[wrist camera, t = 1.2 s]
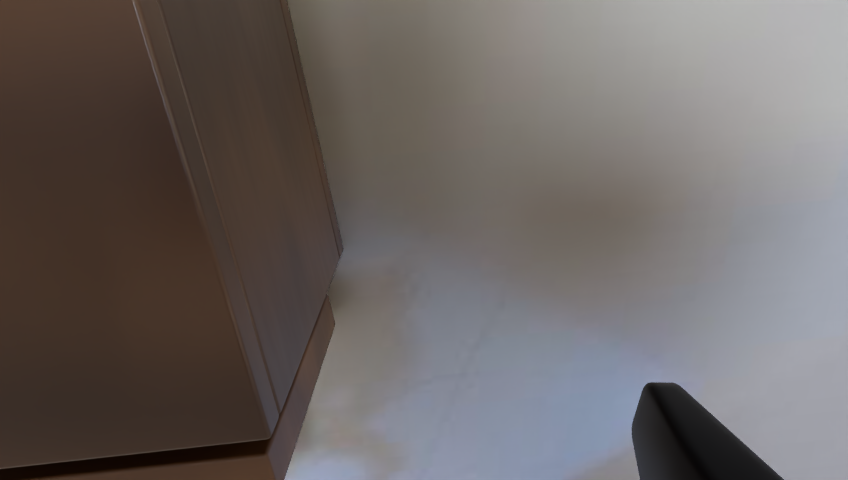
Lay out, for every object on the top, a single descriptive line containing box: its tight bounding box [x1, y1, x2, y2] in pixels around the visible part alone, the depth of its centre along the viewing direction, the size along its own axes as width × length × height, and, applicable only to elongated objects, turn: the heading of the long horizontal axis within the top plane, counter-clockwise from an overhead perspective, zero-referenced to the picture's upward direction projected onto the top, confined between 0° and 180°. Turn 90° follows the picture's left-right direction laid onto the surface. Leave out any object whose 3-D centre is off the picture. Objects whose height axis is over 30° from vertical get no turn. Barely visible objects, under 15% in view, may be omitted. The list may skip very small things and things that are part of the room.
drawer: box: [0, 294, 335, 480], centre depth 18 cm, size 19×11×8 cm, turn 10°
